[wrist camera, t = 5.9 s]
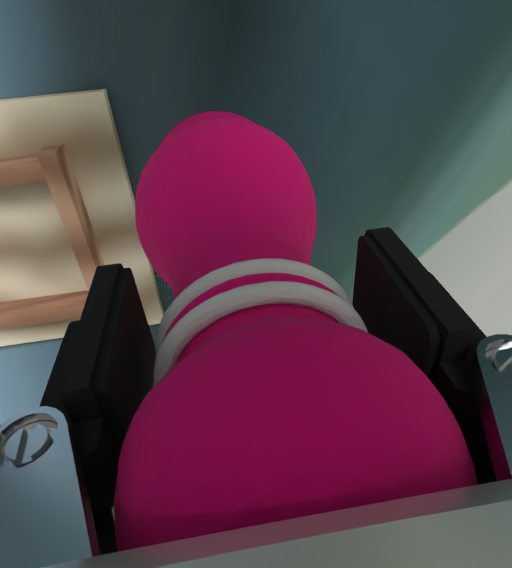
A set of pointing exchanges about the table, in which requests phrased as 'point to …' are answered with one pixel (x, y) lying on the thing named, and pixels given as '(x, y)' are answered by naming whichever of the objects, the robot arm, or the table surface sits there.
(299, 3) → the table surface
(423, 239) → the table surface
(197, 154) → the pepper mill
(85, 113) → the board
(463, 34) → the table surface
